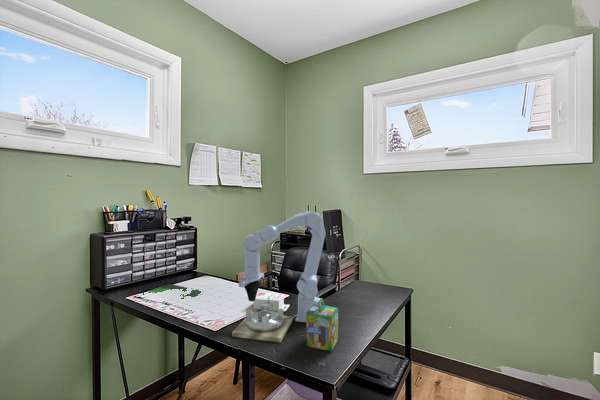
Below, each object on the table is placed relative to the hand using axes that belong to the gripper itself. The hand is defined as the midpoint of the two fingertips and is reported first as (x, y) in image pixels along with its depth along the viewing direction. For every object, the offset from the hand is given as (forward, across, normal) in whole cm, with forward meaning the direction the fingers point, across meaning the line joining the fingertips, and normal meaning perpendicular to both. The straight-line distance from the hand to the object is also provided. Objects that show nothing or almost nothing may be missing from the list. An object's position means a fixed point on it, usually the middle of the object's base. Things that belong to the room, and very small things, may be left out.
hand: (251, 300), depth 110 cm
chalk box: (+10, +1, +30) cm, 31 cm away
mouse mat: (+10, -11, -56) cm, 58 cm away
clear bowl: (+8, 0, +6) cm, 10 cm away
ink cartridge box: (+7, -17, -9) cm, 20 cm away
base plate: (+9, 0, +6) cm, 11 cm away
